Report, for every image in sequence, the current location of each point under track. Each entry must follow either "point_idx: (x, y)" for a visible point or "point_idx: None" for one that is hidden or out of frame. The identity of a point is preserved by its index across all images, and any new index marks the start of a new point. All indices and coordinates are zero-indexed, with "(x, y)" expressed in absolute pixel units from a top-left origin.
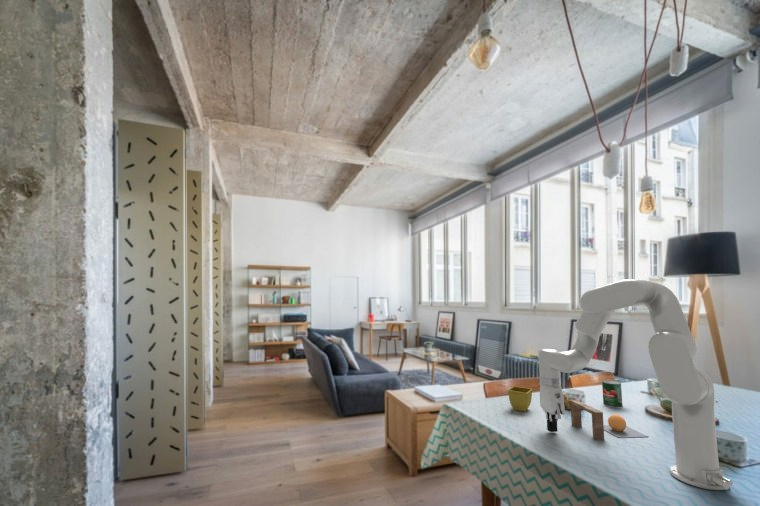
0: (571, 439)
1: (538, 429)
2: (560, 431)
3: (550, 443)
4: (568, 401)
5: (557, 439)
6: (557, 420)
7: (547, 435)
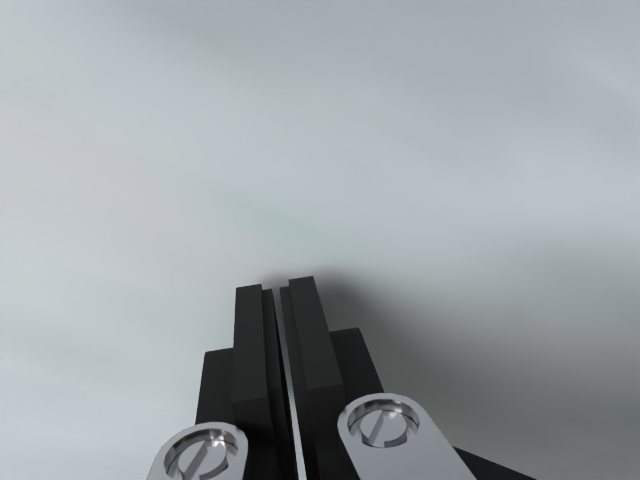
0: (551, 134)
1: None
2: (190, 162)
3: (634, 461)
4: None
5: (530, 342)
6: (420, 413)
7: None
